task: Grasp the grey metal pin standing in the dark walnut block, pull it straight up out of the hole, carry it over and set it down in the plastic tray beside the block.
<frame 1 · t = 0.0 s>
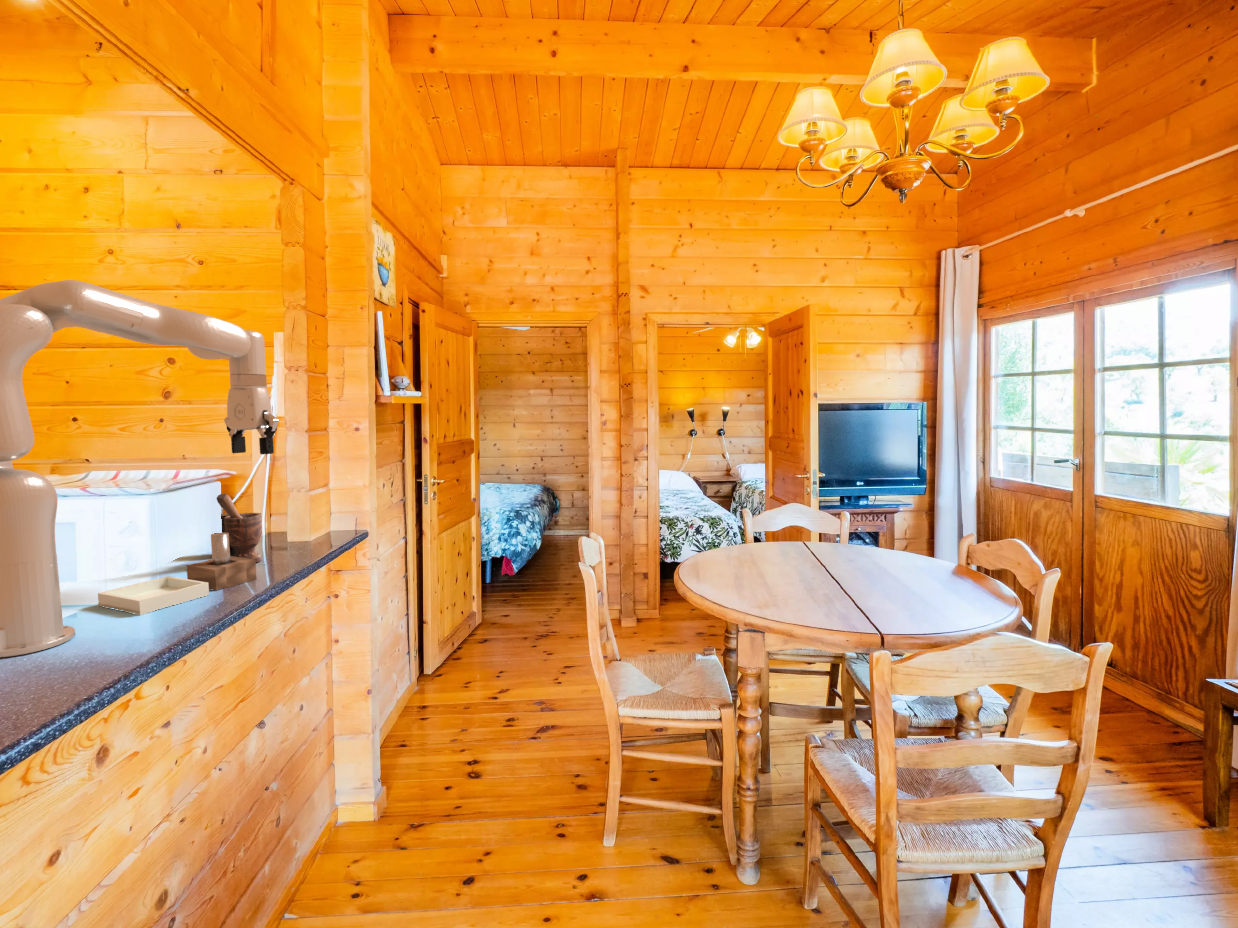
hand: (252, 453, 146), 31 cm above the countertop, tool pointing down, fingers open, 9 cm apart
mortar and pestle: (243, 564, 163), on the countertop
pin block: (222, 582, 145), on the countertop
pin: (221, 558, 145), in the pin block
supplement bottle: (228, 556, 172), on the countertop
tray: (155, 600, 131), on the countertop
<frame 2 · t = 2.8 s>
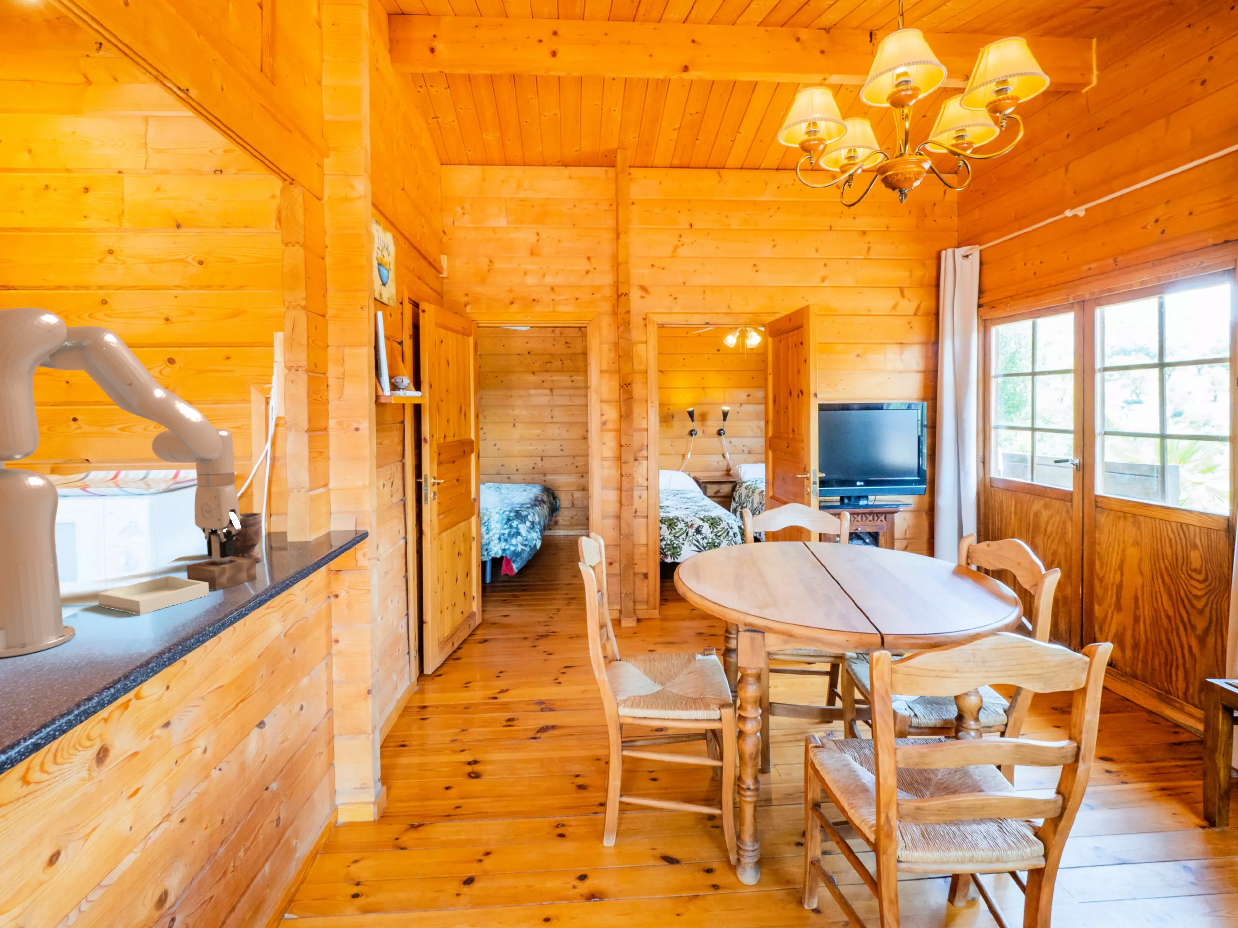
hand: (221, 555, 145), 7 cm above the countertop, tool pointing down, fingers closed on pin, 3 cm apart
pin: (221, 558, 145), in the pin block, touching gripper
everything else where it was.
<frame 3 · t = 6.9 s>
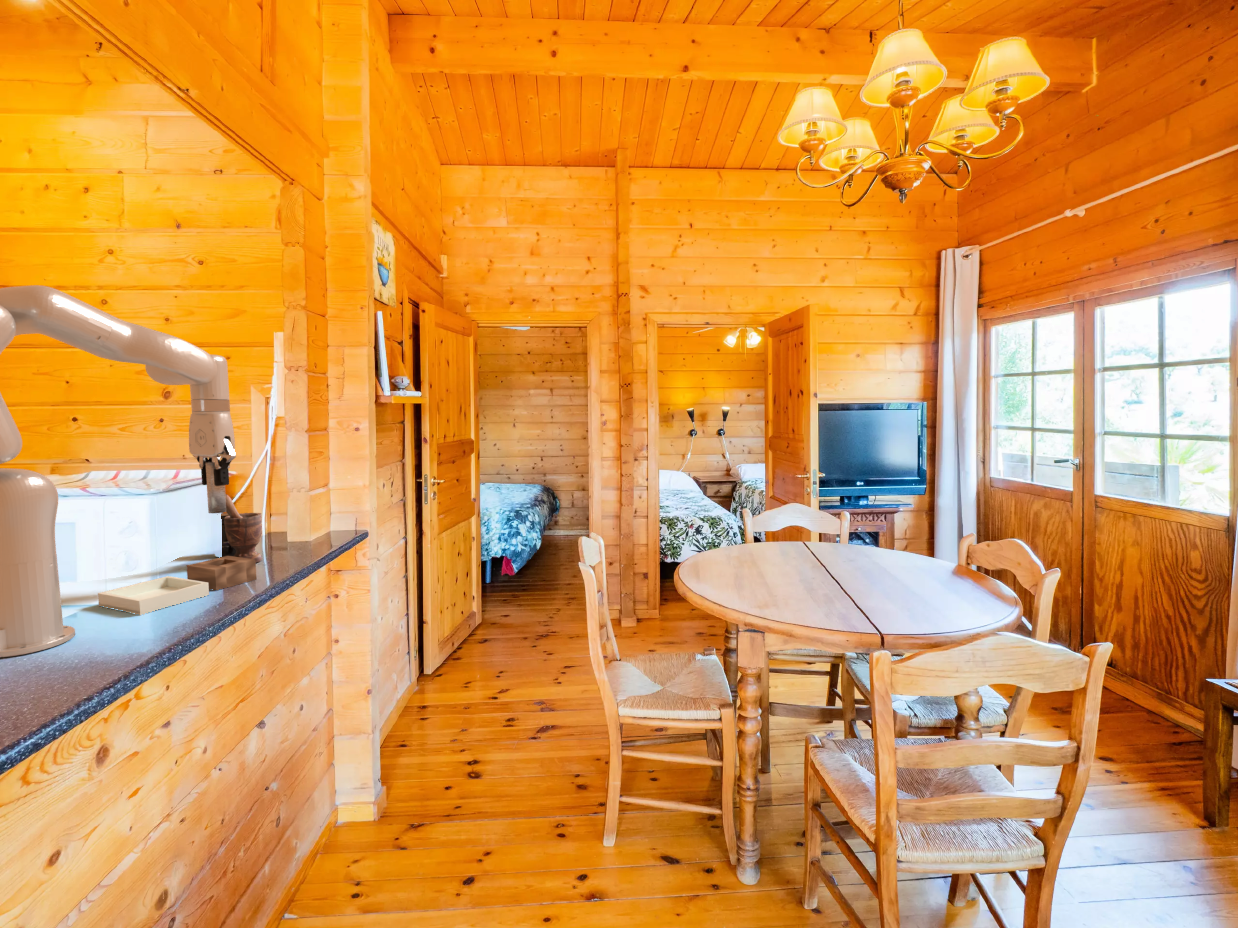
hand: (215, 484, 143), 24 cm above the countertop, tool pointing down, fingers closed on pin, 3 cm apart
pin: (216, 487, 143), point 23 cm above the countertop, touching gripper
everything else where it was.
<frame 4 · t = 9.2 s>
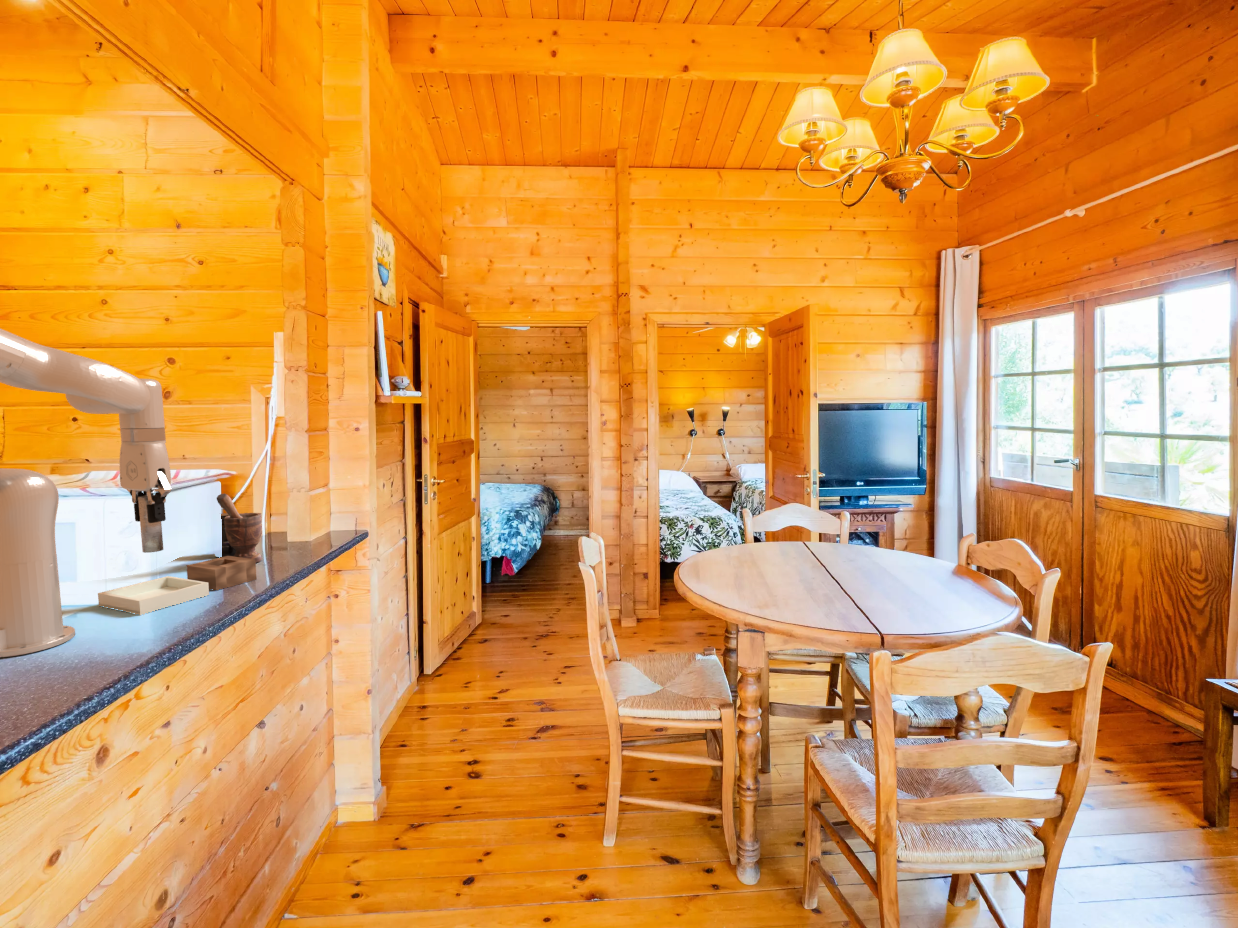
hand: (150, 520, 130), 18 cm above the countertop, tool pointing down, fingers closed on pin, 3 cm apart
pin: (150, 523, 130), point 17 cm above the countertop, touching gripper
everything else where it was.
when the fingers open (10 cm above the countertop, at t = 11.3 s): pin drops 2 cm, resting on tray.
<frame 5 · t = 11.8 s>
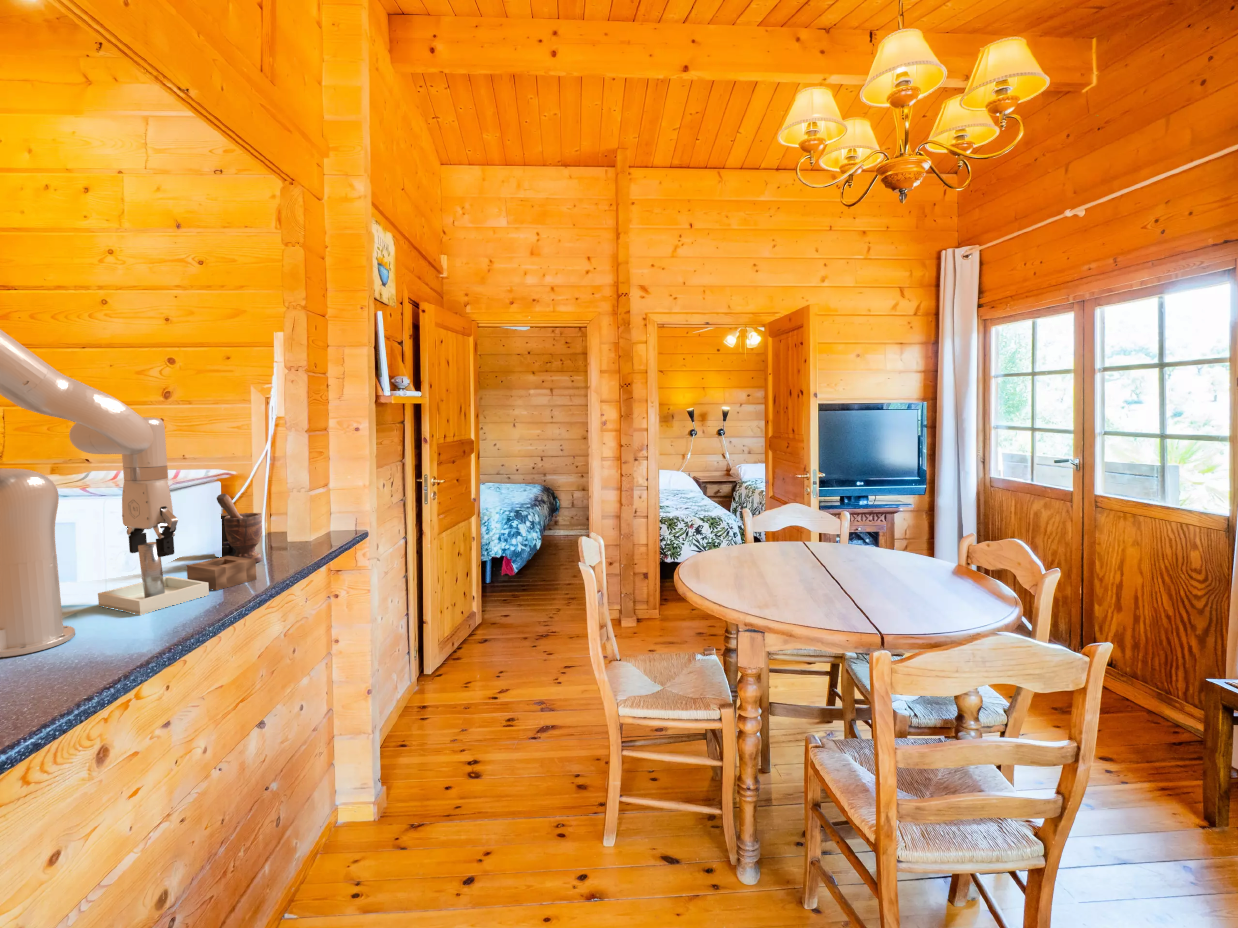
hand: (152, 553, 130), 11 cm above the countertop, tool pointing down, fingers open, 8 cm apart
pin: (151, 570, 131), in the tray, point 7 cm above the countertop
everything else where it was.
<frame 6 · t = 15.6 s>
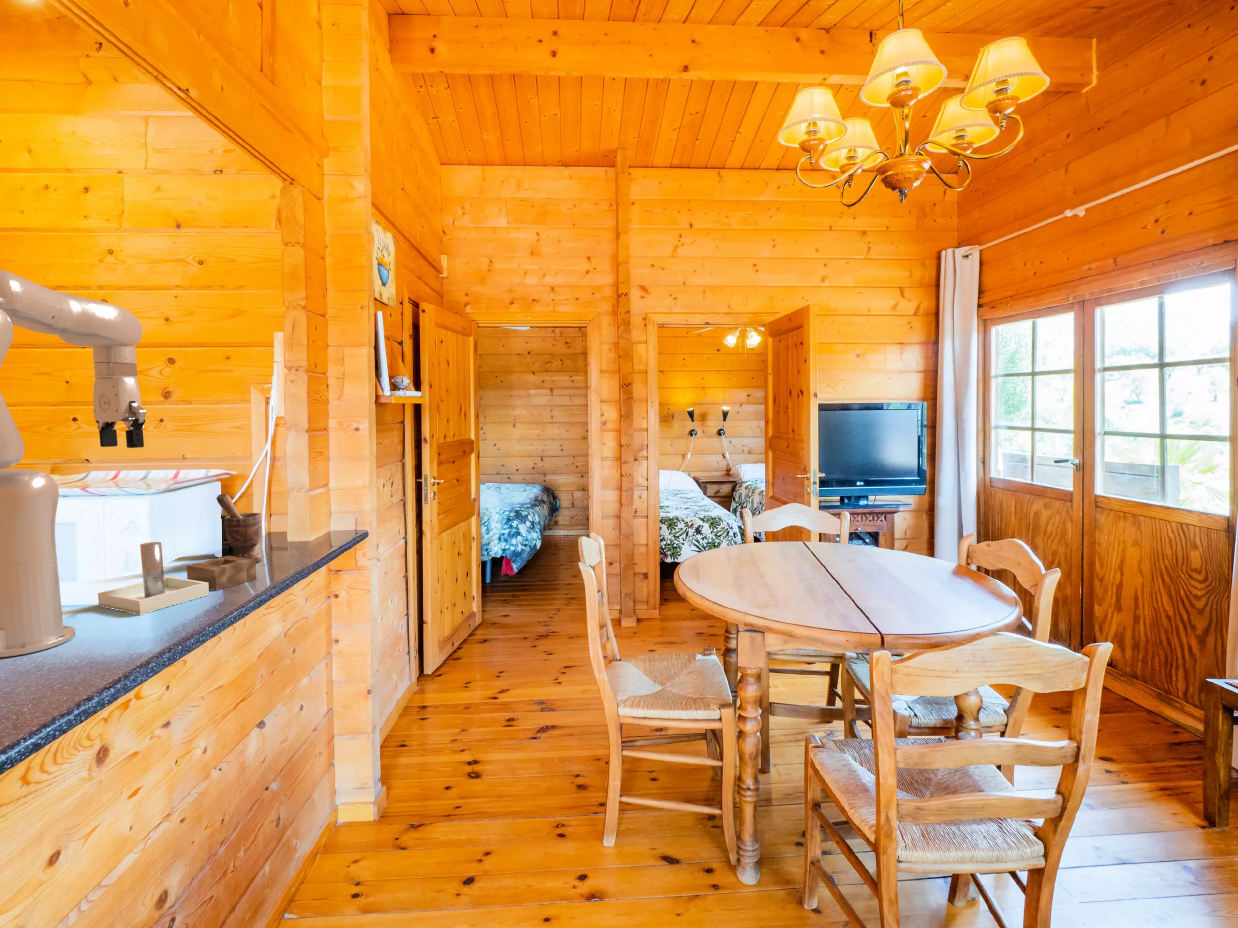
hand: (122, 447, 138), 33 cm above the countertop, tool pointing down, fingers open, 9 cm apart
nothing on the countertop moved.
at the end: pin inside the target area on the tray (0.1 cm from its centre), point 6.8 cm above the tray's base; the gripper is holding nothing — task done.
